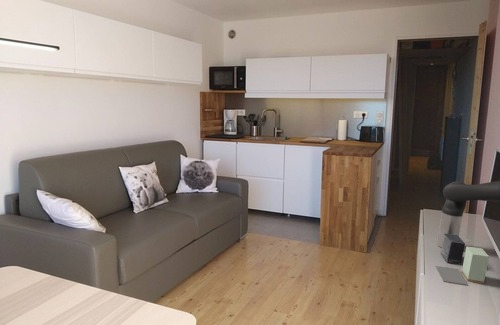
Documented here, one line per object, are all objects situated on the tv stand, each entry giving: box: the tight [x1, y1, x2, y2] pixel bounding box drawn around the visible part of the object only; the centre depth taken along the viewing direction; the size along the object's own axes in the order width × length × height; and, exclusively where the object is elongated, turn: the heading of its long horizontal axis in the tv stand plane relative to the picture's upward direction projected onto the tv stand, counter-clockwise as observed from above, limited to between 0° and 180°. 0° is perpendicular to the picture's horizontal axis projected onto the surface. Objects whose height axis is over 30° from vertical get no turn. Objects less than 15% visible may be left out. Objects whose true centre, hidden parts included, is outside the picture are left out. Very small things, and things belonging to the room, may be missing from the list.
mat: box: [435, 265, 469, 286], centre depth 161 cm, size 14×9×1 cm, turn 167°
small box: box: [440, 233, 466, 266], centre depth 176 cm, size 11×6×10 cm, turn 168°
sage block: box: [461, 245, 490, 285], centre depth 159 cm, size 8×6×12 cm
